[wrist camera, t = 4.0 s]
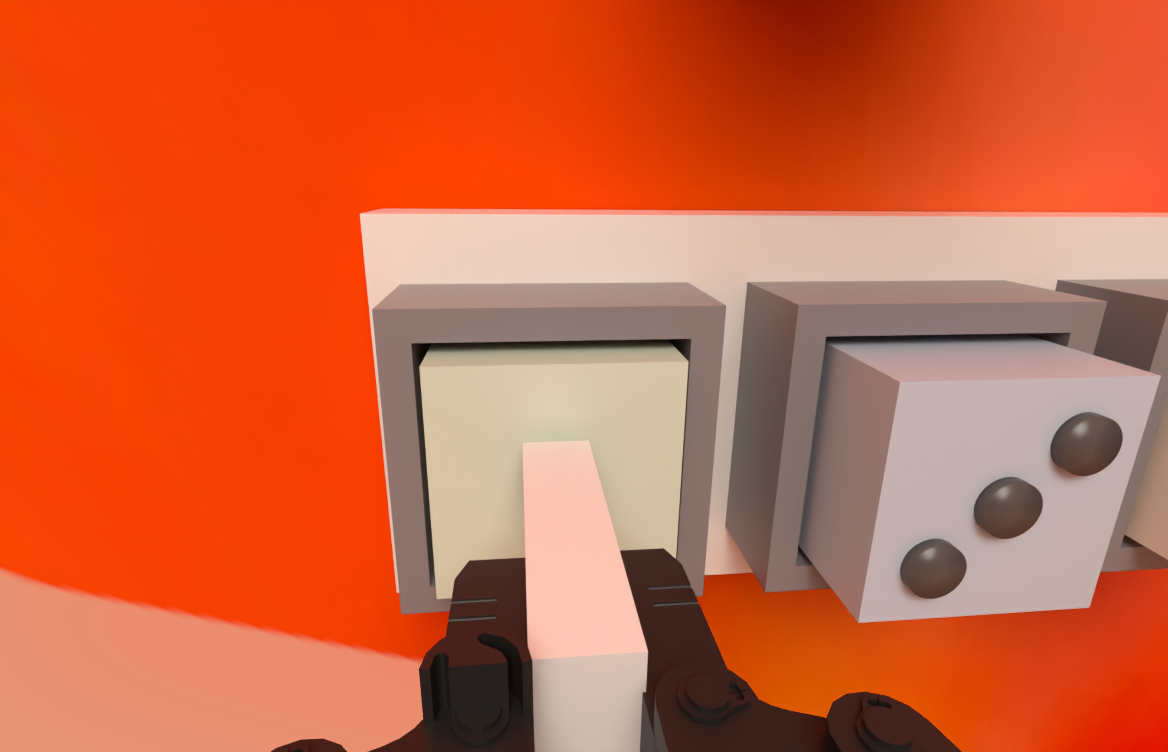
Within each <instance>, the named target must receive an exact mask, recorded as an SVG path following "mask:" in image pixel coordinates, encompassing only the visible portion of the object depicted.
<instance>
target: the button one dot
mask: <svg viewBox="0 0 1168 752" xmlns="http://www.w3.org/2000/svg"><path fill="white" fill-rule="evenodd" d="M688 363H689V362H688V361H687V359H686V358H685V357H684V356H683V355H682V354H681V353H680V352H679V351H678V350H677V349H676V348H675V347H674V346H673V345H672V344H671V342H670V341H669V340H668V339H645V340H584V341H523V342H461V343H432V344H431V346H430V348H429V350H428V351H427V353H426V355H425V357H424V359H423V361H422V363H421V365H420V367H419V368H420V382H421V395H422V409H423V422H424V435H425V449H426V462H427V476H428V489H429V502H430V516H431V529H432V543H433V556H434V569H435V583H436V596H437V599H447V598H452V593H453V586H454V580H455V578H456V577H457V575H458V574H459V573H460V572H461V570H462V569H463V568H464V567H465V565H466V564H467V563H468V561H469V560H488V559H507V558H525V534H524V489H523V444H522V443H527V442H557V441H586V440H589V443H590V446H591V450H592V453H593V457H594V461H595V464H596V468H597V471H598V475H599V478H600V482H601V486H602V489H603V493H604V496H605V500H606V503H607V507H608V511H609V514H610V518H611V521H612V525H613V528H614V532H615V535H616V539H617V543H618V546H619V550H620V551H621V550H640V549H659V548H664V549H665V550H666V551H667V552H669V553H670V554H671V555H672V556H673V557H674V558H675V559H676V550H677V534H678V519H679V503H680V487H681V472H682V456H683V441H684V425H685V409H686V394H687V378H688Z"/></svg>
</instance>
